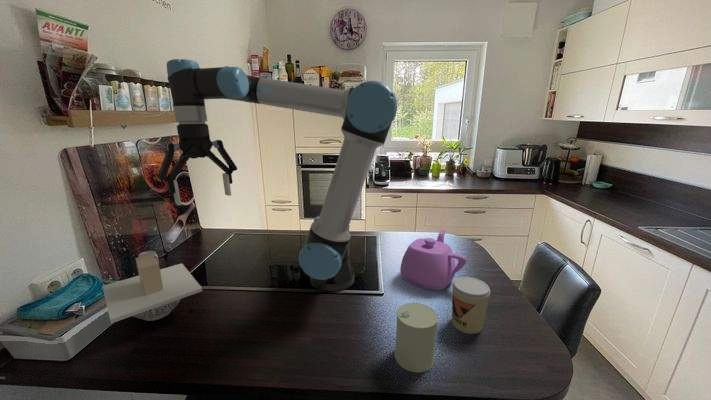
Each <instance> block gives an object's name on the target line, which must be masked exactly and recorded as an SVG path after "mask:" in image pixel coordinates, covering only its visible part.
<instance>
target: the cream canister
mask: <svg viewBox="0 0 711 400" xmlns="http://www.w3.org/2000/svg"><path fill="white" fill-rule="evenodd" d="M490 295H491V289H490V286H489V285H488V283H486V282H485V281H483V280H481V279H479V278H477V277H471V276H460V277H457V278H455V279H454V281H453V282H452V303H451V305H452V306H451V323H452V325H453V327H454V328H455V329H456V330H458V331H460V332H461V333H463V334H464V333H465V334H468V335H477V334H478V333H480V332H481V331H482V329H483V326H484V323H485V322H484V321H485V316H486V313H487V308H488V303H489V299H490Z"/></svg>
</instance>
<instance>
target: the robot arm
mask: <svg viewBox="0 0 711 400" xmlns="http://www.w3.org/2000/svg"><path fill="white" fill-rule="evenodd" d="M166 73H167V81H168V85H169V91H170V95H171V98H172V105H173V106H172V107H173V112H174V118H175V122H176V123H178V124H177V125H176V130H177V135H178V143H173V142H167V143H166V144H165V146H166V149H165V150H166V153H165V155H164V158H163V160H162V164H161V166H160V168H159V171H158V174H157V179H158V180H160V181H164V182H166V184H167V189H168V192H169V194H171V195H173V198H174V203H175V205H177V206H182V201H181V199H182V198H181V195H180V188H179V185H178V181H177V180H175V179H176V178H177V176H178V174H179V173H180V172H181V170H182V169H183V167H184V166H185V164H186V163H187V162H188V161H189V160H190V159H192V160H193V159H199V158H202V159H203V158H206V157H207V158H208V159H209V160H211V161H212V162H213V163H214V164H215V165H216V166H217V167H219V168H220V169H221V170H222V171H223V172H224V173H221V174H222V175H221V176H222V182H223V189H224V195H225V196H229V197H230V196H232V190H231V184H233V176H232V174H233V172H235V171H237V170H238V166H237V165H236V164H235V162H234V161H233V160H232V158H231V157H230V155H229V153H228V152H227V150H226V149H225V147H224V143H223V142H224V141H223V140H221V139H216V140H213V141H212V140H211V136H210V130H209V124H208V123H206V122H208V117H207V109H206V103H205V100H230V101H231V100H232V101H237V102H238V101H240V102H244V103H250V104H251V103H252V104H258V105H265V106H270V107H276V108H282V109H290V110H295V111H302V112H309V113H315V114H320V115H326V116H330V117H331V116H332V117H338V118H342V119H343V122H342V125H341V127H340V128H341V129H340V131H341V133H342V135H343V137H344V139H343V141H342V144H341V147H340V148H341V149H340V152H339V154H338V158H337V160H336V164H335V167H334V170H333V173H332V177H331V180H330V183H329V187H328V190H327V191H326V192H327V193H326V195H325V198H324V201H323V204H322V208H321V211H320V214H319V215H318V216H316V217H314V218H313V222H311V224H310V228H309V231H308V233H307V236H306V239H305V243H304V245H303V246H302V248H301V249H300V251H299V255H298V263H299V266H300V268H301V269H302V271H303V272H304V273H305V275H307V276H309V279H310V284H311V286H312V287H313V288H314V289H317V290H319V291H321V290H322V292H327V291H335V292H340V291H339V290H341V291H344V290H346V289H348V288H350V287H351V286H352V285H353V284H354V282H355V271H354V268H353V266H352V263H351V259H350V241H351V240H350V239H351V233H350V227H351V226H350V224H351V221H352V218H353V215H354V212H355V209H356V208H357V204H358V201H359V198H360V196H361V192H362V191H363V187H364V186H365V181H366V178H367V176H368V173H369V170H370V167H371V165H372V161H373V159H374V156H375V153H376V150H377V149H378V148H380V147H381V146H384V145H385V142H386V139H387V137H388V135H389V132H390V129H391V126H392V123H393V121H394V120H395V117H396V115H397V111H398V101H397V98H396V95H395V93H394V91H393V90H392V88H391V87H389V86H388V85H387V84H386V83H383V82H381V81H378V80H366V81H363V82H361V83H359V84H358V85H356V86H355V87H349V88H347V89H346V90H344V89H338V88H332V87H325V86H320V85H312V84H305V83H299V82H293V81H287V80H281V79H273V78H266V77H262V76H261V77H260V76H254V75H248V74H246V72H245V71H244V70H243V68H242V67H239V66H229V65H228V66H227V65H226V66H221V67H220V66H219V67H205V68H203V67H202V68H201V67H200V65H199V63H198V62H197V61H195V60H193V59H186V58H185V59H183V58H182V59H181V58H180V59H179V58H174V59H170V60H168V61H167V62H166ZM213 147H214V148H215V149H216V150H217V152H218V153H219V155H220V156H221V158H222V159H223V160H224V162H223V161H222V160H221V159H219V158H218V157H217V156H216V154H214V152H212V151H211V149H212V148H213ZM178 149H179V150H180V151H181V152H182V153H181V154H180V156H179V158H178V160H177V161H176V163H175V164H174V165H173V166H172V169H170V166H171V163H172V161H173V159H174V156H175V152H177V151H178ZM225 163H226V164H225ZM169 169H170V172H169ZM168 172H169V173H168Z"/></svg>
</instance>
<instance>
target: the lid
mask: <svg viewBox="0 0 711 400" xmlns="http://www.w3.org/2000/svg"><path fill="white" fill-rule="evenodd" d="M135 262H136V267H137V273H138V275H136V276H132V277H130V278H126V279H122V280H118V281H115V282H111V283H108V284H105V285H102V290H103V294H104V299H105V304H106V307H107V308H106V309H107V312H108V316H109V321H110V324H114V323H117V322H119V321H121V320H124V319H127V318H130V317H133V316H134V315H136V314H139V313H142V312H145V311H148V310H151V309H153V308H156V307H159V306H162V305H165V304H167V303H170V302H173V301H176V300H179V299H181V300H182V299H184V298H187V297H190V296H192V295H196V294H198V293H201V292H203V287H202V286H201V284H200V283H199V282H198V281H197V280H196V279H195V277H194V276H193V275H192V274H191V273H190V271H189V270H188V269H187V267H185V265H184V264H183V263H178V264H174V265H171V266H168V267H164V268H161V267H160V262H159V263H158V262H157V260H156V258H155V257H154V255H153V254H150V255H146V256H142V257H139V256H138V257H135ZM159 267H160V268H159Z"/></svg>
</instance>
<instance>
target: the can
mask: <svg viewBox="0 0 711 400" xmlns="http://www.w3.org/2000/svg"><path fill="white" fill-rule="evenodd" d="M438 316H439V315H438V313H437V312H436V311H435V310H434V309H433V308H432V307H431V306H429V305H426V304H424V303H419V302H407V303H404V304H402V305H400V306H399V307H398V308H397V310H396V332H395V333H396V334H395V349H394V359H395V361H396V363H397V364H398V366H400V367H401V368H402V369H404V370H406V371H409V372H410V373H418V374H419V373H425V372H428V371H430V370H431V369H432V367H433V366H434V365H435V349H436V338H437V327H438V321H439V317H438Z"/></svg>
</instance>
